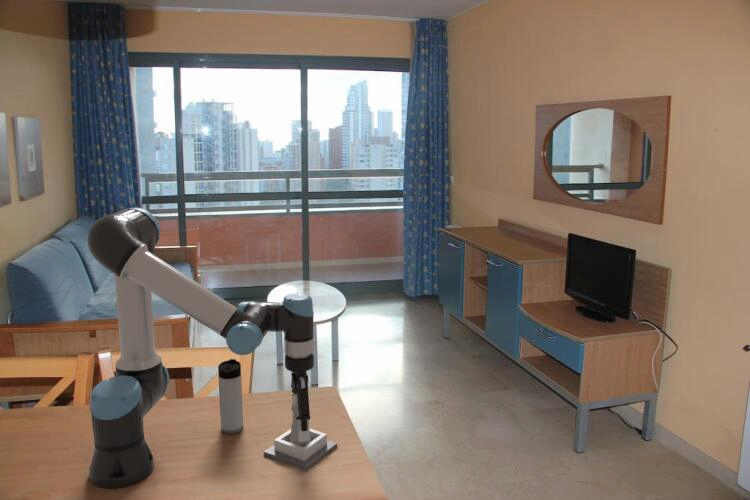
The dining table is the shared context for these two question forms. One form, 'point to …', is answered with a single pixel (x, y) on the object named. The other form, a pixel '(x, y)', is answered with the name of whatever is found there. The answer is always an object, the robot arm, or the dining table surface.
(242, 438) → the dining table surface
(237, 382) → the travel mug
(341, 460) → the dining table surface
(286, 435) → the socket
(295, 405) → the grey bulb peg
